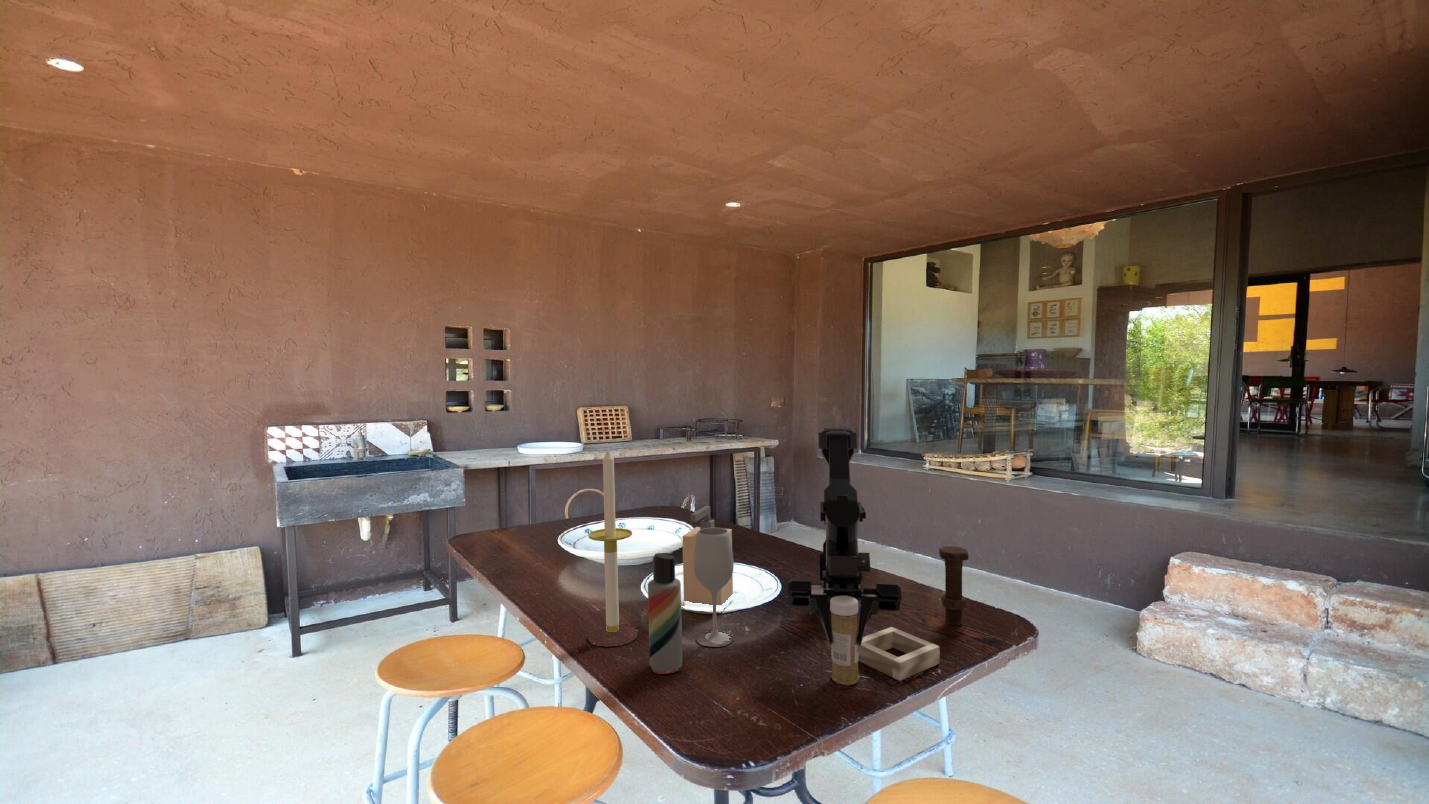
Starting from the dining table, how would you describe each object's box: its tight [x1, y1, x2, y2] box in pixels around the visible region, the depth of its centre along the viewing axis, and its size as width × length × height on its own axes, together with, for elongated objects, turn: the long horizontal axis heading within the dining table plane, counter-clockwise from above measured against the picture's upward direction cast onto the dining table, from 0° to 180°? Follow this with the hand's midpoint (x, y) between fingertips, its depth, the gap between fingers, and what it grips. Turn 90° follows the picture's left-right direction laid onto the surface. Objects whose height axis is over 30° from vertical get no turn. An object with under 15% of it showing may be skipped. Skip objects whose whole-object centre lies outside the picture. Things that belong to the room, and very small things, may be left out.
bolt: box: [938, 545, 969, 626], centre depth 125 cm, size 6×5×15 cm
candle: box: [587, 448, 633, 632], centre depth 121 cm, size 10×10×38 cm
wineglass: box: [694, 527, 735, 644], centre depth 119 cm, size 8×8×21 cm
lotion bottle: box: [647, 552, 683, 671], centre depth 108 cm, size 6×6×20 cm
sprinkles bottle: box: [829, 596, 860, 686], centre depth 103 cm, size 5×5×13 cm
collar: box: [858, 626, 941, 682], centre depth 110 cm, size 10×10×3 cm
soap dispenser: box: [681, 505, 734, 605], centre depth 136 cm, size 13×9×22 cm
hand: (845, 644), depth 102 cm, fingers closed on sprinkles bottle, 4 cm apart
